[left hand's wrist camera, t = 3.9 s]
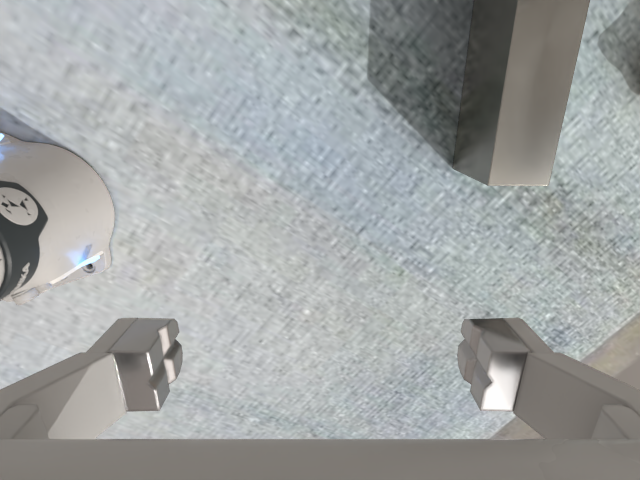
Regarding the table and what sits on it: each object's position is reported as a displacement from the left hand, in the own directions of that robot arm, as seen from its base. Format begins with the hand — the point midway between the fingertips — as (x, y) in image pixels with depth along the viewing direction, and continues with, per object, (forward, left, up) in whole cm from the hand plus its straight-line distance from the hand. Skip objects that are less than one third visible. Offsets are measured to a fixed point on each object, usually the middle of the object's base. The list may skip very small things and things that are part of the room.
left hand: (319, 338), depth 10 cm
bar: (+21, +1, -33) cm, 39 cm away
